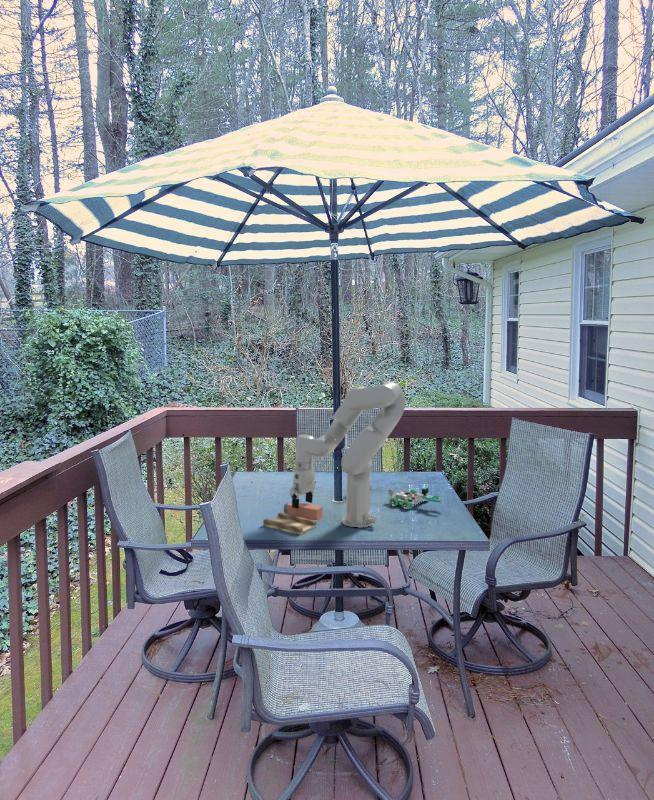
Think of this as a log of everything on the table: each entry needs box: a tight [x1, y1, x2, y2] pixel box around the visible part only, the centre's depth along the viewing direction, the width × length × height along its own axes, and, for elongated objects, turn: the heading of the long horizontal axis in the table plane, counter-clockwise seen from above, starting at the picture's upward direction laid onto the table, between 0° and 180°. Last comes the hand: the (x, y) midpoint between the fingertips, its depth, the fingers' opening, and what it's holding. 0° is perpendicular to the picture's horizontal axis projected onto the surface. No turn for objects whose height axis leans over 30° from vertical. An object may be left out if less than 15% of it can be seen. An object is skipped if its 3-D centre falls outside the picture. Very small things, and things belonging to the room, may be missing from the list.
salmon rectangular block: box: [283, 501, 324, 521], centre depth 249 cm, size 16×5×5 cm, turn 65°
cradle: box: [262, 512, 317, 536], centre depth 237 cm, size 18×11×2 cm, turn 57°
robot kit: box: [387, 486, 445, 509], centre depth 265 cm, size 19×25×9 cm
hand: (302, 504), depth 249 cm, fingers open, 9 cm apart
